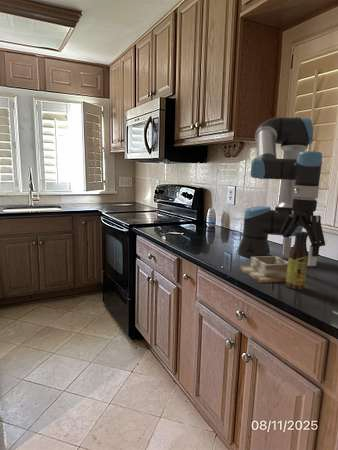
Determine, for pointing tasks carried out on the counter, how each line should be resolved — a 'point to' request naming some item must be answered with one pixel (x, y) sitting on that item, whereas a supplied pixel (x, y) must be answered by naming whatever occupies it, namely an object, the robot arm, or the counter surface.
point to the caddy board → (267, 269)
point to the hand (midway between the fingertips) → (298, 259)
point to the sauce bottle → (297, 262)
